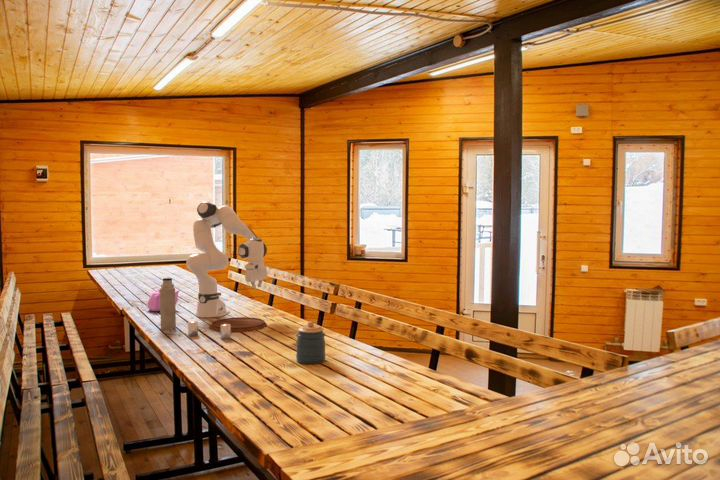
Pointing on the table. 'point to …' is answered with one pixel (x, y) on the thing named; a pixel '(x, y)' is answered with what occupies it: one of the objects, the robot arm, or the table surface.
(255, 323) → the cutting board
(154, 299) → the teapot
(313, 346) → the canister
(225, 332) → the bench dogs
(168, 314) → the thermos bottle
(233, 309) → the table surface
